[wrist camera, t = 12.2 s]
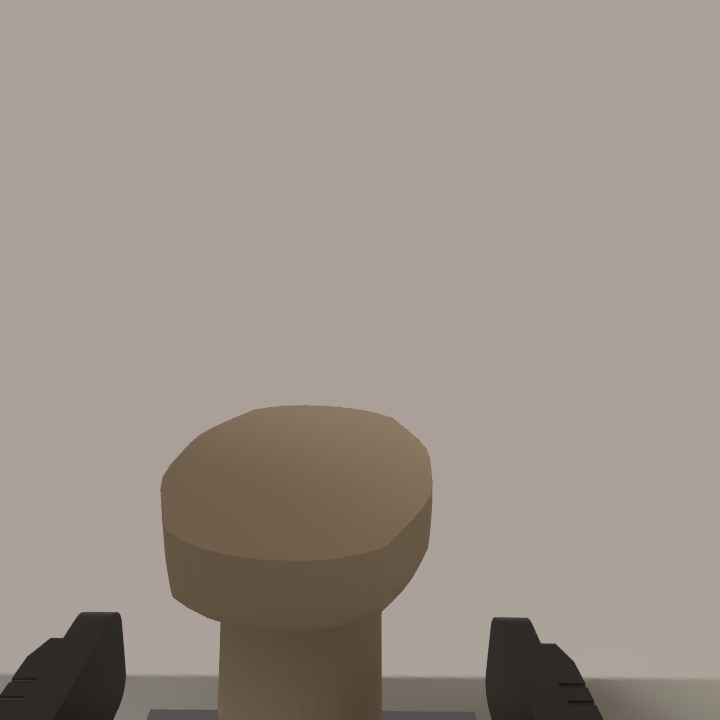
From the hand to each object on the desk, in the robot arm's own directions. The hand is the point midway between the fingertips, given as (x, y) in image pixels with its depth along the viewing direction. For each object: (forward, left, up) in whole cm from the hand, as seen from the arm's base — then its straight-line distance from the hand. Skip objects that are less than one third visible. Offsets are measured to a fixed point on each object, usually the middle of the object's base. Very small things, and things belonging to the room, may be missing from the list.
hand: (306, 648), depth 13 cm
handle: (0, 0, -11) cm, 11 cm away
